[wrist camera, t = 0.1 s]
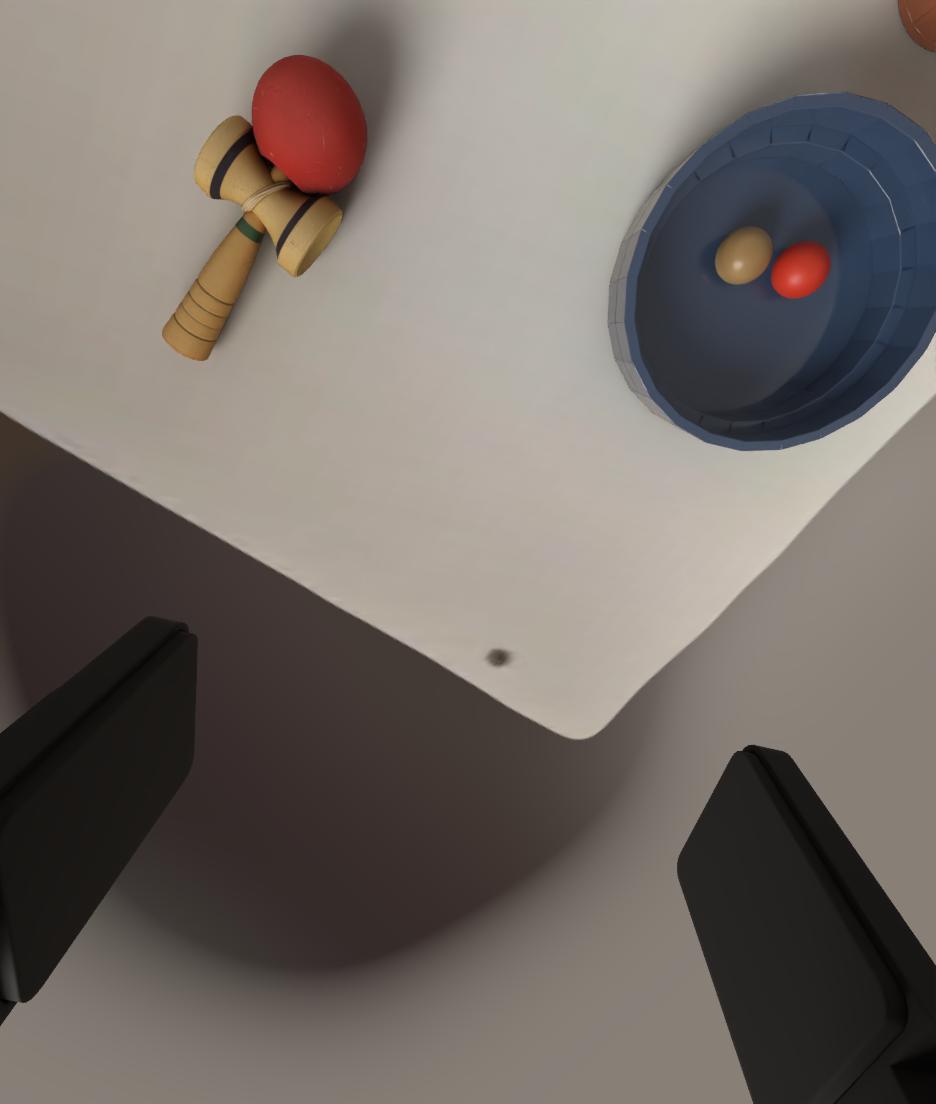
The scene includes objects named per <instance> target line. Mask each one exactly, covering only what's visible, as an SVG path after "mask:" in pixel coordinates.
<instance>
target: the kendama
mask: <svg viewBox="0 0 936 1104" xmlns="http://www.w3.org/2000/svg"><path fill="white" fill-rule="evenodd" d="M252 124H253V126H252V125H251V124H250V123H249V122H247V121H246V120H245V119H244V118H243V117H241V116H232V117H229V118H227V119H226V120H225V121H223V122H222V123H221V124H220V125H218V127H217V128H216V129H215V130H214V131H213V133H212V134H211V135H210V137H209V138H208V140H207V141H206V143H205V144H204V146H203V148H202V150H201V152H200V154H199V156H198V158H197V162H196V165H195V169H194V179H195V182H196V184H197V185H198V186H199V187H200V188H201V189H202V190H203V191H204V192H205V193H206V195H207V196H209V197H210V198H212V199H222V200H228V201H232V202H235V203H237V204H240V205H242V210H243V211H244V212H245V213H244V215H243V217H242V218H241V219H240V220H239V221H238V222H237V224H236V225H235V226H234V228H233V229H232V230H231V231H230V233H229V234H228V235H227V236H226V238H225V239H224V240H223V241H222V242H221V244H220V245H219V246H218V248H217V249H216V250H215V252H214V253H213V255H212V256H211V257H210V259H209V260H208V262H207V263H206V265H205V266H204V268H203V269H202V271H201V272H200V274H199V276H198V278H197V279H196V280H195V282H194V283H193V285H192V287H191V289H190V290H189V291H188V293H187V294H186V296H185V297H184V299H183V301H182V302H181V303H180V305H179V306H178V308H177V310H176V312H175V313H174V314H173V315H172V316H171V318H170V319H169V321H168V322H167V323H166V325H165V326H164V328H163V330H162V336H163V338H164V340H165V341H166V342H167V343H168V344H169V346H171V347H172V348H173V349H174V350H175V351H177V352H178V353H180V354H182V355H183V356H186V357H188V358H190V359H193V360H198V361H204V360H207V359H208V357H209V355H210V353H211V351H212V349H213V347H214V344H215V342H216V339H217V337H218V336H219V334H220V331H221V329H222V326H223V325H224V323H225V321H226V319H227V317H228V315H229V313H230V311H231V309H232V307H233V305H234V302H235V301H236V299H237V298H238V296H239V294H240V292H241V290H242V288H243V285H244V283H245V281H246V279H247V277H248V275H249V272H250V270H251V267H252V265H253V262H254V260H255V257H256V254H257V252H258V250H259V247H260V244H261V242H262V239H263V236H264V234H265V232H266V229H267V230H268V232H269V234H270V236H271V238H272V240H273V242H274V245H275V248H276V252H277V258H278V263H279V265H280V266H281V267H283V268H284V269H285V270H286V271H287V272H288V273H290V274H291V275H292V276H293V277H298V276H300V275H301V274H303V273H304V272H305V271H306V270H307V269H308V268H309V267H310V266H311V265H312V264H313V262H314V261H315V260H316V258H317V257H318V256H319V255H320V254H321V252H322V251H323V250H324V249H325V247H326V246H327V244H328V243H329V242H330V240H331V239H332V237H333V235H334V234H335V232H336V231H337V229H338V227H339V225H340V223H341V220H342V215H343V212H342V210H341V209H340V208H339V207H338V206H337V205H336V204H335V203H334V202H333V201H332V199H331V198H330V197H329V194H332V193H335V192H338V191H340V190H341V189H343V188H344V187H346V186H347V185H348V184H349V183H350V182H351V181H352V180H353V179H354V178H355V176H356V175H357V173H358V171H359V169H360V167H361V165H362V163H363V160H364V156H365V152H366V148H367V147H366V145H367V129H366V121H365V118H364V114H363V111H362V108H361V105H360V103H359V101H358V99H357V97H356V95H355V93H354V91H353V90H352V88H351V87H350V85H349V84H348V83H347V82H346V80H345V79H344V78H343V77H342V76H341V75H340V74H339V73H338V72H337V71H336V70H335V69H333V68H332V67H331V66H329V65H328V64H326V63H324V62H322V61H320V60H319V59H316V58H313V57H309V56H303V55H294V56H289V57H285V58H283V59H281V60H279V61H277V62H276V63H274V64H273V65H272V66H271V67H269V68H268V69H267V70H266V72H265V73H264V74H263V75H262V77H261V78H260V80H259V82H258V84H257V87H256V90H255V93H254V97H253V102H252ZM268 163H269V164H268Z"/></svg>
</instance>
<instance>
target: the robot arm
mask: <svg viewBox="0 0 936 1104" xmlns="http://www.w3.org/2000/svg"><path fill="white" fill-rule="evenodd" d="M197 648H198V641H197V636H196V635H195V634H191V633H189V628H188V626H187V624H185V623H182V622H178V621H173V620H168V619H164V618H159V617H155V616H148V617H146V618H144V619H143V620H142V621H140V622H139V623H138V624H137V625H135V626H134V627H133V628H132V629H130V630H129V631H128V632H127V633H126V634H124V635H123V636H122V637H121V638H120V639H118V640H117V641H116V642H115V643H113V644H112V645H111V646H110V647H109V648H107V649H106V650H105V651H104V652H103V653H101V654H100V655H99V656H98V657H96V658H95V659H94V660H93V661H91V662H90V663H89V664H88V665H87V666H86V667H84V668H83V669H82V670H80V671H79V672H78V673H77V674H76V675H74V676H73V677H72V678H71V679H69V680H68V681H67V682H66V683H65V684H63V685H62V686H61V687H59V688H57V689H56V690H54V691H52V692H51V693H49V694H48V695H47V696H46V697H45V698H43V699H42V700H41V701H40V702H38V703H37V704H36V705H35V706H34V707H32V708H31V709H30V710H29V711H27V712H26V713H25V714H24V715H22V716H21V717H20V718H19V719H17V721H15V722H14V723H13V724H11V725H10V726H9V727H8V728H6V729H5V730H4V731H3V732H1V733H0V1026H1V1024H2V1023H3V1022H4V1020H5V1019H6V1017H7V1016H8V1015H9V1013H10V1012H11V1010H12V1009H13V1007H14V1006H15V1005H16V1003H17V1002H21V1003H26V1002H27V1001H29V1000H31V999H32V998H33V997H34V996H35V995H36V994H37V993H38V991H39V990H40V989H41V987H42V986H43V985H44V983H45V982H46V981H47V979H48V978H49V976H50V975H51V973H52V972H53V970H54V969H55V967H56V966H57V965H58V963H59V962H60V960H61V959H62V957H63V956H64V954H65V953H66V952H67V950H68V949H69V947H70V946H71V944H72V943H73V941H74V940H75V939H76V937H77V935H78V934H79V933H80V931H81V930H82V928H83V927H84V925H85V924H86V923H87V921H88V920H89V918H90V917H91V915H92V914H93V912H94V911H95V910H96V908H97V907H98V905H99V904H100V902H101V901H102V899H103V898H104V896H105V895H106V894H107V892H108V891H109V889H110V888H111V886H112V885H113V883H114V882H115V881H116V879H117V878H118V876H119V875H120V873H121V872H122V870H123V869H124V867H125V866H126V865H127V863H128V862H129V860H130V859H131V857H132V856H133V854H134V853H135V852H136V850H137V849H138V847H139V846H140V844H141V843H142V842H143V840H144V839H145V837H146V836H147V834H148V833H149V831H150V830H151V828H152V827H153V825H154V824H155V823H156V821H157V820H158V818H159V817H160V815H161V814H162V812H163V811H164V809H165V808H166V807H167V805H168V804H169V802H170V801H171V800H172V798H173V797H174V795H175V794H176V792H177V791H178V789H179V788H180V786H181V785H182V783H183V782H184V781H185V779H186V777H187V776H188V774H189V771H190V769H191V766H192V763H193V758H194V741H195V709H196V679H197ZM677 873H678V879H679V882H680V885H681V888H682V891H683V894H684V897H685V900H686V903H687V906H688V909H689V912H690V915H691V918H692V921H693V924H694V927H695V930H696V933H697V936H698V939H699V941H700V945H701V947H702V951H703V954H704V957H705V960H706V963H707V966H708V969H709V972H710V975H711V978H712V981H713V983H714V987H715V990H716V993H717V996H718V999H719V1002H720V1005H721V1008H722V1011H723V1014H724V1017H725V1020H726V1023H727V1026H728V1029H729V1032H730V1035H731V1038H732V1041H733V1044H734V1047H735V1050H736V1053H737V1056H738V1059H739V1062H740V1064H741V1067H742V1071H743V1074H744V1077H745V1080H746V1083H747V1086H748V1089H749V1091H750V1095H751V1098H752V1101H753V1104H936V965H935V964H934V962H933V961H932V960H931V958H930V957H929V955H928V954H927V952H926V951H925V949H924V948H923V947H922V945H921V944H920V942H919V941H918V939H917V938H916V936H915V935H914V934H913V932H912V931H911V929H910V928H909V926H908V925H907V923H906V922H905V921H904V919H903V918H902V916H901V915H900V913H899V912H898V910H897V909H896V908H895V906H894V905H893V903H892V902H891V900H890V899H889V897H888V896H887V895H886V893H885V892H884V890H883V889H882V887H881V886H880V884H879V883H878V882H877V881H876V879H875V877H874V876H873V874H872V873H871V872H870V870H869V869H868V867H867V866H866V864H865V863H864V862H863V860H862V859H861V857H860V856H859V854H858V853H857V851H856V850H855V848H854V847H853V846H852V844H851V843H850V841H849V840H848V838H847V837H846V835H845V834H844V833H843V831H842V830H841V828H840V827H839V825H838V824H837V823H836V821H835V820H834V818H833V817H832V815H831V814H830V813H829V811H828V810H827V808H826V807H825V805H824V804H823V803H822V801H821V799H820V798H819V796H818V795H817V794H816V792H815V791H814V789H813V788H812V787H811V785H810V784H809V782H808V781H807V779H806V778H805V776H804V775H803V773H802V772H801V771H800V769H799V768H798V766H797V765H796V763H795V762H794V760H793V759H792V758H791V757H790V756H789V755H788V754H787V753H785V752H783V751H779V750H774V749H770V748H766V747H761V746H756V745H748V746H747V747H745V748H744V749H743V750H742V751H737V752H736V753H734V755H733V756H732V758H731V759H730V761H729V763H728V765H727V767H726V769H725V771H724V772H723V774H722V776H721V778H720V780H719V782H718V784H717V786H716V787H715V789H714V791H713V793H712V795H711V797H710V799H709V801H708V803H707V804H706V806H705V808H704V810H703V812H702V814H701V815H700V817H699V819H698V821H697V823H696V825H695V827H694V829H693V830H692V832H691V834H690V836H689V838H688V840H687V842H686V844H685V845H684V847H683V849H682V851H681V853H680V855H679V858H678V862H677Z"/></svg>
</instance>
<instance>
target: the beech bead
mask: <svg viewBox="0 0 936 1104" xmlns="http://www.w3.org/2000/svg"><path fill="white" fill-rule="evenodd" d="M772 252H773V246H772V241H771V239H770V237H769V235H768V234H767V233H766V232H765V231H764V230H763V229H761V228H758V227H755V226H745V227H741V228H738V229H736V230H734V231H733V232H731V233H730V234H729V235H727V236H726V237H725V239H724V240H723V241H722V242H721V244H720V245H719V247H718V250H717V252H716V256H715V267H716V271H717V273H718V275H719V276H720V277H721V278H722V279H723V280H724V281H725V282H727V283H730V284H734V285H741V284H746V283H749V282H751V281H753V280H755V279H756V278H757V277H759V276H760V275H761V274H762V273H763V272H764V271H765V269H766V268H767V266H768V265H769V263H770V260H771V257H772Z"/></svg>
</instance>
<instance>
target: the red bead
mask: <svg viewBox="0 0 936 1104" xmlns="http://www.w3.org/2000/svg"><path fill="white" fill-rule="evenodd" d="M830 268H831V258H830V255H829V252H828V251H827V249H826V248H825V247H824V246H823V245H821V244H819V243H817V242H814V241H802V242H798V243H796V244H793V245H791V246H790V247H788V248H787V249H785V250H784V251H783V252H782V253H781V254H780V255H779V256H778V258H777V259H776V261H775V263H774V265H773V267H772V271H771V283H772V286H773V288H774V289H775V291H776V292H777V293H778V294H780V295H781V296H783V297H786V298H790V299H797V298H802V297H805V296H808V295H810V294H811V293H813V292H815V291H816V290H817V289H818V288H819V287H820V286H821V285H822V284H823V283H824V282H825V280H826V279H827V277H828V274H829V272H830Z"/></svg>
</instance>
